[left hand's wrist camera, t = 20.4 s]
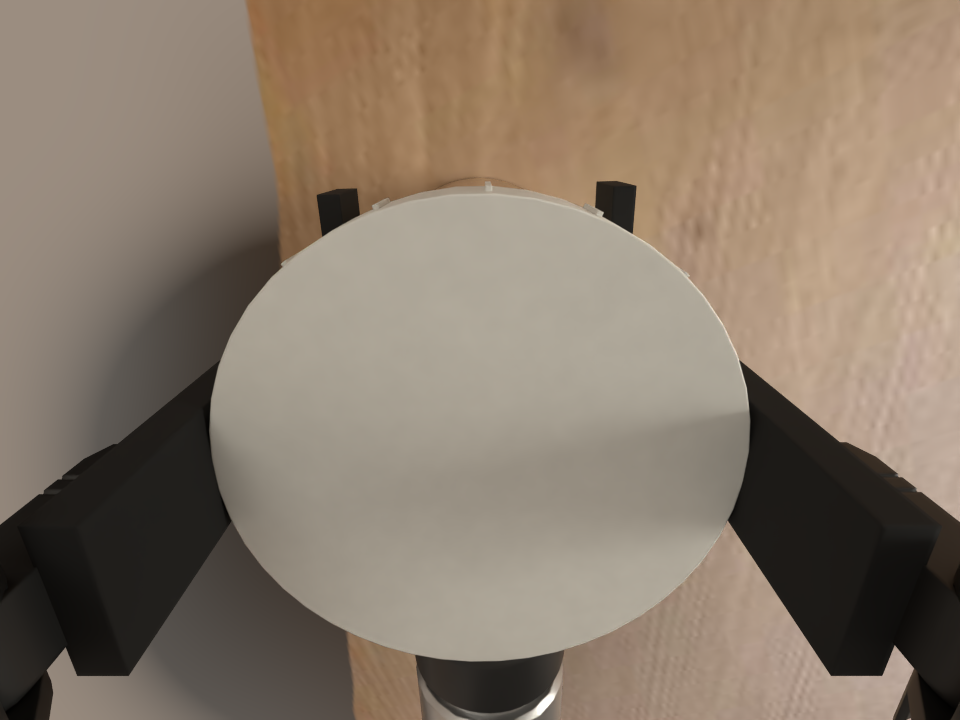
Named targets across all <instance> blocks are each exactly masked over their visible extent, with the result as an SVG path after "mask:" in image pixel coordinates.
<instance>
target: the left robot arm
mask: <svg viewBox="0 0 960 720" xmlns="http://www.w3.org/2000/svg"><path fill="white" fill-rule="evenodd" d="M220 361H221V360H220ZM220 361H219V362H217V363H216V364H215V365H214V366H213V367H211V368H210V369H209V370H208V371H206V372H205V373H204V374H203V375H201V376H200V377H199V378H198V379H197V380H195V381H194V382H193V383H192V384H190V385H189V386H188V387H187V388H186V389H184V390H183V391H182V392H181V393H179V394H178V395H177V396H176V397H175V398H173V399H172V400H171V401H170V402H168V403H167V404H166V405H165V406H164V407H162V408H161V409H160V410H159V411H157V412H156V413H155V414H154V415H153V416H151V417H150V418H149V419H148V420H147V421H145V422H144V423H143V424H142V425H140V426H139V427H138V428H137V429H135V430H134V431H133V432H132V433H131V434H129V435H128V436H127V437H126V438H124V439H123V440H122V441H121V442H120V443H118V444H113V445H111V446H109V447H107V448H105V449H103V450H101V451H99V452H97V453H95V454H93V455H91V456H89V457H87V458H85V459H83V460H82V461H81V462H80V463H78V464H77V465H76V466H74V467H73V468H72V469H71V470H69V471H68V472H67V473H66V474H64V475H63V476H62V480H57V481H55V482H54V483H53V484H52V485H50V486H49V487H48V488H46V489H45V490H44V494H39V495H38V496H36V497H35V498H34V499H32V500H31V501H30V502H29V503H27V504H26V505H25V506H24V507H22V508H21V509H20V510H18V511H17V512H16V513H15V514H13V515H12V516H11V517H10V518H8V519H7V520H6V521H5V522H3V523H2V524H1V525H0V720H49V717H50V710H51V704H52V697H53V689H52V683H51V680H50V677H49V675H48V673H47V669H48V668H49V667H50V665H51V664H52V663H53V662H54V661H55V659H56V658H57V657H58V656H59V654H60V653H61V652H62V651H63V650H64V648H65V647H66V649H67V651H68V654H69V656H70V659H71V661H72V664H73V666H74V669H75V671H76V674H77V676H129V674H130V673H131V671H132V670H133V668H134V667H135V665H136V664H137V662H138V661H139V659H140V658H141V656H142V655H143V653H144V652H145V650H146V649H147V647H148V646H149V644H150V643H151V641H152V640H153V638H154V637H155V635H156V634H157V632H158V631H159V629H160V628H161V626H162V625H163V623H164V622H165V620H166V619H167V617H168V616H169V614H170V613H171V611H172V610H173V608H174V607H175V605H176V604H177V602H178V601H179V599H180V598H181V596H182V595H183V593H184V592H185V590H186V589H187V587H188V586H189V584H190V583H191V581H192V580H193V578H194V577H195V575H196V574H197V572H198V571H199V569H200V568H201V566H202V565H203V563H204V562H205V560H206V559H207V557H208V556H209V554H210V553H211V551H212V550H213V548H214V547H215V545H216V544H217V542H218V541H219V539H220V538H221V536H222V535H223V533H224V532H225V530H226V529H227V527H228V525H229V524H230V522H231V521H232V520H231V519H230V516H229V514H228V511H227V509H226V506H225V504H224V501H223V499H222V496H221V494H220V492H219V488H218V484H217V479H216V475H215V471H214V466H213V462H212V456H211V445H210V434H209V426H210V410H211V397H212V393H213V388H214V384H215V379H216V375H217V370H218V366H219V364H220ZM739 362H740V366H741V369H742V373H743V377H744V380H745V384H746V387H747V395H748V404H749V413H750V440H749V454H748V459H747V463H746V468H745V473H744V478H743V482H742V486H741V489H740V492H739V495H738V498H737V500H736V503H735V506H734V509H733V511H732V513H731V515H730V517H729V519H728V522H729V523H730V525H731V526H732V528H733V529H734V531H735V532H736V534H737V535H738V537H739V538H740V540H741V541H742V543H743V544H744V546H745V547H746V549H747V550H748V552H749V553H750V555H751V556H752V558H753V559H754V561H755V562H756V564H757V565H758V567H759V568H760V570H761V571H762V573H763V574H764V576H765V577H766V579H767V580H768V582H769V583H770V585H771V586H772V588H773V589H774V591H775V592H776V594H777V595H778V597H779V598H780V600H781V601H782V603H783V604H784V606H785V607H786V609H787V610H788V612H789V613H790V615H791V616H792V618H793V619H794V621H795V622H796V624H797V625H798V627H799V628H800V630H801V631H802V633H803V634H804V636H805V637H806V639H807V640H808V642H809V643H810V645H811V646H812V648H813V649H814V651H815V652H816V654H817V655H818V657H819V658H820V660H821V661H822V663H823V664H824V666H825V667H826V669H827V670H828V672H829V673H830V675H831V676H882V675H883V673H884V670H885V668H886V665H887V663H888V660H889V658H890V655H891V653H892V650H893V648H894V645H895V646H896V647H897V648H898V649H899V651H900V652H901V653H902V654H903V655H904V657H905V658H906V659H907V660H908V661H909V663H910V664H911V665H912V666H913V667H914V670H913V673H912V675H911V677H910V680H909V682H908V684H907V687H906V689H905V691H904V693H903V696H902V698H901V700H900V703H899V705H898V707H897V710H896V712H895V714H894V717H893V720H907V719H909V718H911V720H960V522H959V521H958V520H956V519H955V518H954V517H952V516H951V515H950V514H949V513H947V512H946V511H945V510H943V509H942V508H941V507H940V506H938V505H937V504H936V503H935V502H933V501H932V500H931V499H929V498H928V497H927V496H926V495H924V494H923V493H922V492H917V491H916V488H915V487H914V486H913V485H911V484H910V483H909V482H908V481H906V480H905V479H904V478H902V477H898V474H897V473H896V472H895V471H893V470H892V469H891V468H890V467H888V466H887V465H886V464H885V463H883V462H882V461H881V460H879V459H878V458H877V457H875V456H873V455H871V454H869V453H867V452H865V451H863V450H861V449H859V448H857V447H855V446H853V445H851V444H849V443H847V442H839V441H838V440H836V439H835V438H834V437H833V436H832V435H830V434H829V433H828V432H827V431H825V430H824V429H823V428H822V427H821V426H819V425H818V424H817V423H816V422H814V421H813V420H812V419H811V418H810V417H808V416H807V415H806V414H805V413H803V412H802V411H801V410H800V409H799V408H797V407H796V406H795V405H794V404H792V403H791V402H790V401H789V400H788V399H786V398H785V397H784V396H783V395H781V394H780V393H779V392H778V391H777V390H775V389H774V388H773V387H772V386H770V385H769V384H768V383H767V382H766V381H764V380H763V379H762V378H761V377H759V376H758V375H757V374H756V373H755V372H753V371H752V370H751V369H750V368H748V367H747V366H746V365H745V364H744V363H742V362H741V361H740V360H739Z"/></svg>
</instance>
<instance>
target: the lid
mask: <svg viewBox="0 0 960 720" xmlns="http://www.w3.org/2000/svg"><path fill="white" fill-rule="evenodd" d="M372 208H373V209H372V210H370V211H368V212H366V213H364V214H362V215H360V216H358V217H355V218H354V219H352V220H350V221H348V222H346V223H345V224H343V225H341V226H339V227H338V228H336V229H334V230H332V231H331V232H329V233H328V234H326V235H325V236H323V237H322V238H320V239H319V240H317V241H316V242H314V243H313V244H311V245H310V246H308V247H306V248H305V249H303V250H302V251H300V252H299V253H297V254H295V255H294V256H292V257H290V258H288V259H287V260H285V261H284V262H283V263H282V264H281V265H282V266H283V267H282V268H281V269H280V270H279V271H278V272H277V273H276V274H275V275H273V276H272V277H271V279H270V280H269V281H268V282H267V283H266V285H265V286H264V287H263V288H262V289H261V291H260V292H259V293H258V294H257V296H256V297H255V298H254V299H253V300H252V302H251V303H250V304H249V305H248V307H247V309H246V310H245V312H244V314H243V315H242V317H241V319H240V321H239V322H238V324H237V326H236V327H235V329H234V331H233V332H232V334H231V336H230V338H229V341H228V343H227V346H226V348H225V351H224V354H223V356H222V359H221V361H220V364H219V366H218V370H217V375H216V379H215V384H214V388H213V393H212V397H211V410H210V426H209V434H210V445H211V456H212V462H213V466H214V471H215V475H216V479H217V484H218V488H219V492H220V494H221V496H222V499H223V501H224V504H225V506H226V509H227V511H228V514H229V516H230V519H231V520H232V522H233V524H234V526H235V527H236V529H237V531H238V533H239V534H240V536H241V538H242V540H243V541H244V543H245V545H246V546H247V547H248V549H249V550H250V551H251V553H252V554H253V555H254V556H255V558H256V559H257V560H258V562H259V563H260V564H261V566H262V567H263V568H264V569H265V570H266V571H267V572H268V573H269V574H270V575H271V576H272V577H273V578H274V579H275V581H276V582H277V583H278V584H279V585H280V586H281V587H282V588H283V589H284V590H286V591H287V592H288V593H290V594H291V595H292V596H293V597H294V598H296V599H297V600H298V601H299V602H300V603H302V604H303V605H304V606H305V607H307V608H308V609H310V610H311V611H313V612H315V613H316V614H318V615H319V616H321V617H322V618H324V619H325V620H327V621H328V622H330V623H332V624H334V625H336V626H338V627H340V628H342V629H344V630H346V631H348V632H350V633H352V634H354V635H356V636H358V637H361V638H363V639H366V640H368V641H371V642H374V643H376V644H379V645H381V646H384V647H388V648H391V649H395V650H399V651H402V652H406V653H410V654H414V655H420V656H426V657H431V658H437V659H445V660H458V661H504V660H513V659H522V658H530V657H535V656H539V655H544V654H549V653H554V652H558V651H561V650H565V649H568V648H571V647H574V646H577V645H581V644H584V643H587V642H589V641H591V640H594V639H596V638H598V637H601V636H603V635H605V634H608V633H610V632H612V631H614V630H616V629H618V628H620V627H622V626H623V625H625V624H627V623H629V622H631V621H632V620H634V619H636V618H638V617H639V616H641V615H642V614H644V613H645V612H646V611H648V610H649V609H651V608H652V607H654V606H655V605H656V604H658V603H659V602H661V601H662V600H663V599H664V598H665V597H667V596H668V595H669V594H670V593H671V592H672V591H673V590H675V589H676V588H677V587H678V586H679V585H680V584H681V583H682V582H684V580H685V579H686V578H687V577H688V576H689V575H690V574H691V573H692V572H693V570H694V569H695V568H696V567H697V566H698V565H699V564H700V563H701V562H702V560H703V559H704V558H705V556H706V555H707V553H708V552H709V551H710V549H711V548H712V546H713V545H714V543H715V542H716V540H717V539H718V538H719V536H720V534H721V532H722V530H723V529H724V527H725V525H726V523H727V521H728V519H729V517H730V515H731V513H732V511H733V509H734V506H735V503H736V500H737V498H738V495H739V492H740V489H741V486H742V482H743V478H744V473H745V468H746V463H747V459H748V454H749V440H750V413H749V404H748V395H747V387H746V384H745V380H744V377H743V373H742V369H741V366H740V362H739V359H738V355H737V353H736V351H735V349H734V347H733V345H732V342H731V340H730V338H729V336H728V334H727V331H726V329H725V327H724V325H723V323H722V322H721V320H720V319H719V317H718V316H717V314H716V313H715V311H714V310H713V308H712V307H711V305H710V304H709V302H708V301H707V299H706V298H705V296H704V295H703V294H702V293H701V292H700V291H699V290H698V288H697V287H696V286H695V285H694V284H693V283H692V282H691V281H690V280H689V279H688V277H689V275H688V273H687V272H685V271H684V270H682V269H680V268H679V267H677V266H676V265H674V264H673V263H672V262H671V261H669V260H668V259H667V258H666V257H665V256H663V255H662V254H661V253H660V252H658V251H657V250H656V249H655V248H653V247H652V246H651V245H650V244H648V243H647V242H645V241H643V240H641V239H640V238H638V237H636V236H635V235H633V234H631V233H630V232H628V231H626V230H625V229H623V228H621V227H620V226H618V225H616V224H614V223H613V222H611V221H609V220H607V219H606V218H604V217H602V215H603V213H604V212H602V211H600V210H598V209H596V208H594V207H592V206H591V205H588V204H586V203H585V205H584V207H580V206H578V205H576V204H573V203H571V202H568V201H566V200H564V199H561V198H557V197H553V196H549V195H545V194H541V193H537V192H533V191H530V190H523V189H515V188H506V187H497V186H492V185H491V182H490V181H485V186H465V187H451V188H445V189H439V190H432V191H426V192H420V193H417V194H414V195H410V196H407V197H404V198H401V199H397V200H394V201H391V202H390V199H389V198H386V199H383V200H381V201H380V202H378V203H376V204H374V205H372Z"/></svg>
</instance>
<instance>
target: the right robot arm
mask: <svg viewBox="0 0 960 720" xmlns="http://www.w3.org/2000/svg"><path fill="white" fill-rule="evenodd" d="M635 198H636V186H635V185H631V184H627V183H623V182H618V181H602V182H597V186H596V205H595V208H596V209H598V210H600V211H602V212H604V213H603V215H602V217H604V218H606V219H607V220H609V221H611V222H613V223H614V224H616V225H618V226H620V227H621V228H623V229H625V230H626V231H628V232H630V233H631V234H633V223H634V210H635ZM317 201H318V208H319V216H320V223H321V230H322V237H323V236H325V235H326V234H328V233H329V232H331V231H332V230H334V229H336V228H338V227H339V226H341V225H343V224H345V223H346V222H348V221H350V220H352V219H354V218H355V217H358V216H360V212H359V203H358V194H357V189H336V190H332V191H329V192H325V193H322V194H318V195H317ZM563 654H564V650H561V651H558V652H554V653H549V654H544V655H539V656H535V657H530V658H522V659H513V660H504V661H458V660H445V659H437V658H431V657H426V656H420V655H415V657H416V661H417V676H418V685H419V694H420V703H421V712H422V720H560V716H561V703H562V684H563Z"/></svg>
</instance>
